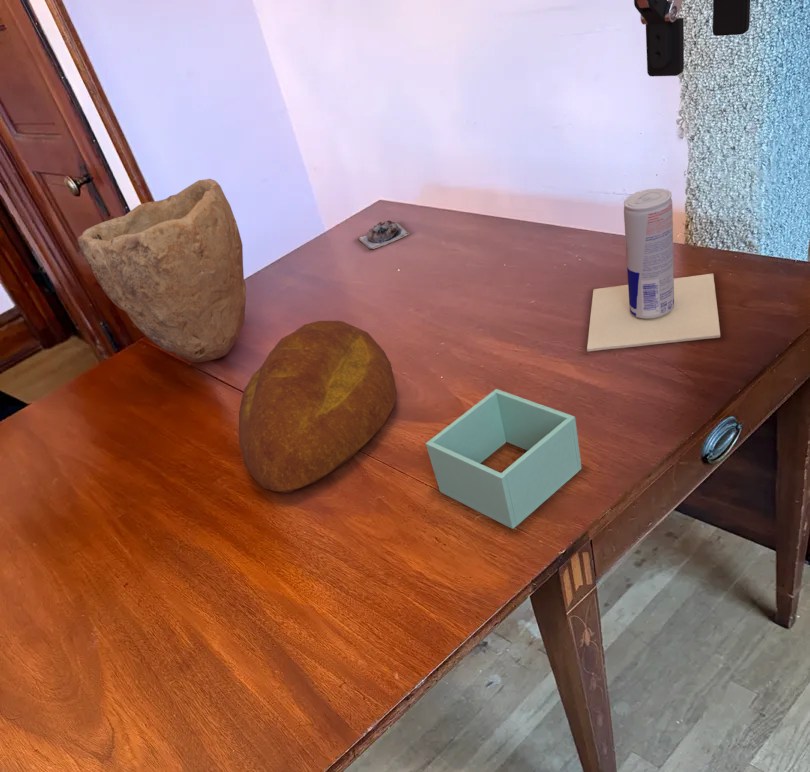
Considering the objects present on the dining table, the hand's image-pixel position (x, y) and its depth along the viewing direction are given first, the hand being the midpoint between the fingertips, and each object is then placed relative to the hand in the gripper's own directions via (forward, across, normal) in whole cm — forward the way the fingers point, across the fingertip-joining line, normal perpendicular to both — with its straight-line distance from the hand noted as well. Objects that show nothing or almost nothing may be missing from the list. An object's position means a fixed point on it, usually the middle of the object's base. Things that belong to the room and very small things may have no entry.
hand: (698, 53), depth 65 cm
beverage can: (+33, +10, +13) cm, 37 cm away
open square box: (+33, -25, +7) cm, 42 cm away
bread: (+34, -29, +37) cm, 58 cm away
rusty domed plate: (+34, +16, +77) cm, 85 cm away
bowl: (+34, -27, +72) cm, 83 cm away
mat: (+33, +10, +13) cm, 37 cm away
